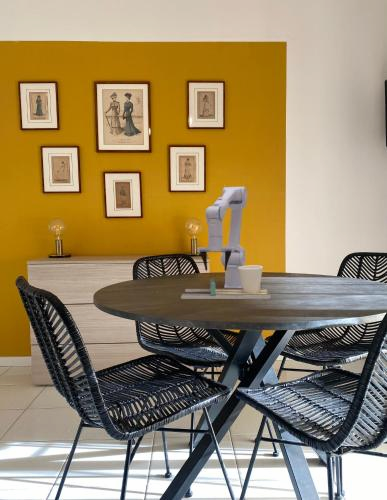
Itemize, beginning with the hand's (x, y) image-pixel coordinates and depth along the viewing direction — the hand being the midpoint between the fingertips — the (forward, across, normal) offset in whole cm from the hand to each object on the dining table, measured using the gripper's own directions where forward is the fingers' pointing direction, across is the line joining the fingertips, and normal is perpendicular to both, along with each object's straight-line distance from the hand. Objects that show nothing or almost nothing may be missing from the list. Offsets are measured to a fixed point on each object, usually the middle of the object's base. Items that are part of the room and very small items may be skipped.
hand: (215, 270), depth 201 cm
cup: (+10, +14, +1) cm, 17 cm away
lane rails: (+10, +4, -1) cm, 11 cm away
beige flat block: (+10, +9, +1) cm, 13 cm away
